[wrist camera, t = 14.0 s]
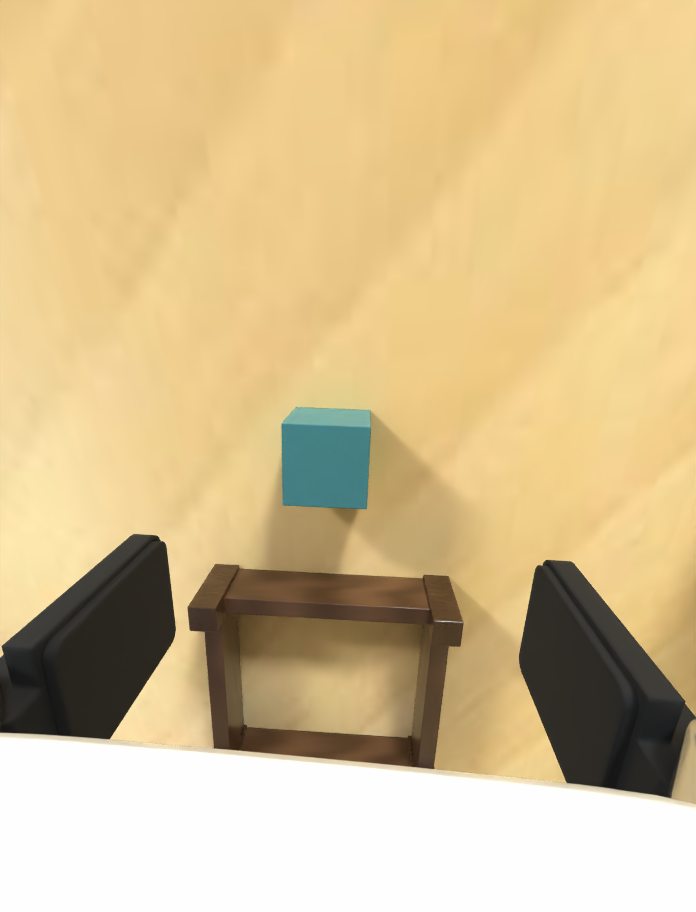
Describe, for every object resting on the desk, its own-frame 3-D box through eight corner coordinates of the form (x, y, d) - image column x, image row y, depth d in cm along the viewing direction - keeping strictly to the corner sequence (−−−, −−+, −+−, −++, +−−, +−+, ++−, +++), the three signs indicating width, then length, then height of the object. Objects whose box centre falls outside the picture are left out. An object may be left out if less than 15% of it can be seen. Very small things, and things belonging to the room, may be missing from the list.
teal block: (370, 410, 27) (370, 426, 22) (366, 480, 28) (366, 509, 24) (295, 407, 27) (281, 423, 23) (296, 477, 28) (282, 505, 24)
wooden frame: (448, 576, 30) (463, 622, 25) (427, 752, 35) (437, 819, 30) (215, 563, 31) (186, 607, 26) (227, 739, 36) (205, 802, 31)
